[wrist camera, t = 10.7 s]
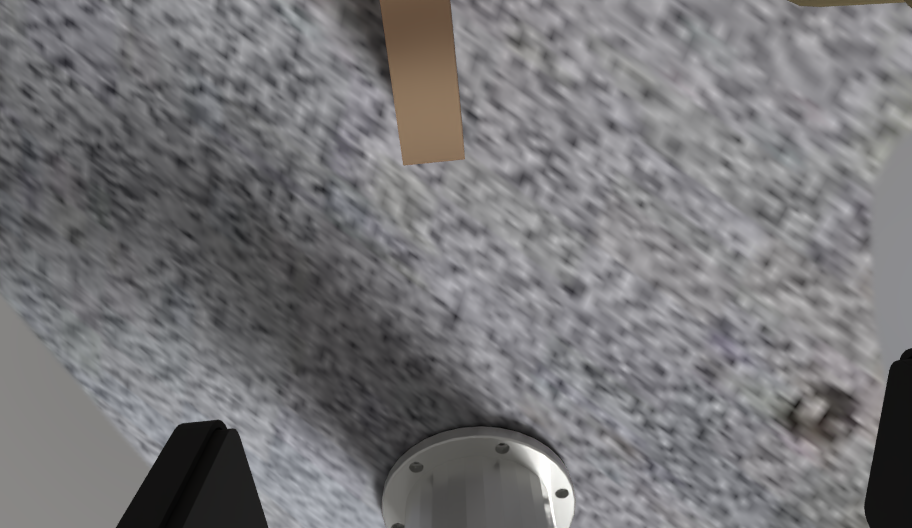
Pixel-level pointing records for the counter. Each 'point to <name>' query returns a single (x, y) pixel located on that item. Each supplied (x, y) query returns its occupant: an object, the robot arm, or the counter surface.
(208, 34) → the counter surface
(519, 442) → the robot arm
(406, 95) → the notched wooden beam
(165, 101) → the counter surface
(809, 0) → the olive upright rounded block
